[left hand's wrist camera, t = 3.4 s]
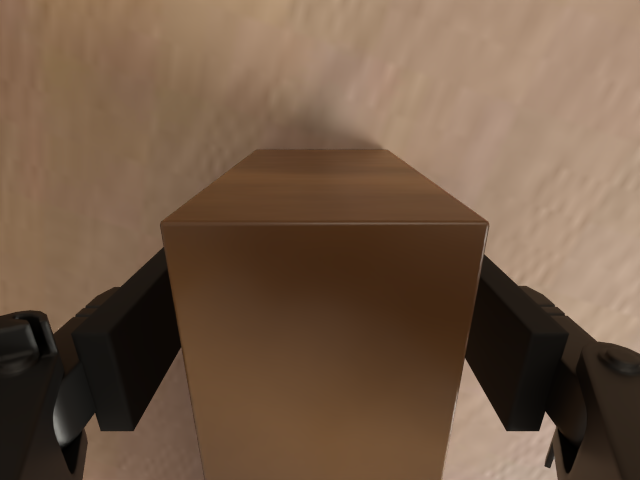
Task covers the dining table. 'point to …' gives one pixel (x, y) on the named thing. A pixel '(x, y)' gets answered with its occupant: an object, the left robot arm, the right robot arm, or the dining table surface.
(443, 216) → the bar
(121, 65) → the dining table surface
